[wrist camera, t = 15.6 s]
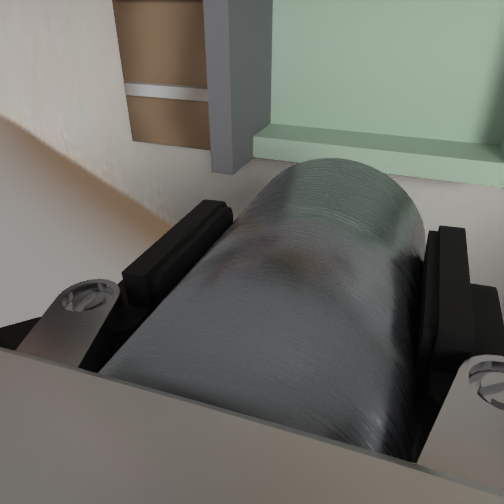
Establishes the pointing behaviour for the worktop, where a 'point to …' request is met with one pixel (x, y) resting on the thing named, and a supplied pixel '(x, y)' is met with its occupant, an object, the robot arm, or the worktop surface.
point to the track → (164, 70)
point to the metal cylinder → (300, 311)
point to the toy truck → (359, 85)
